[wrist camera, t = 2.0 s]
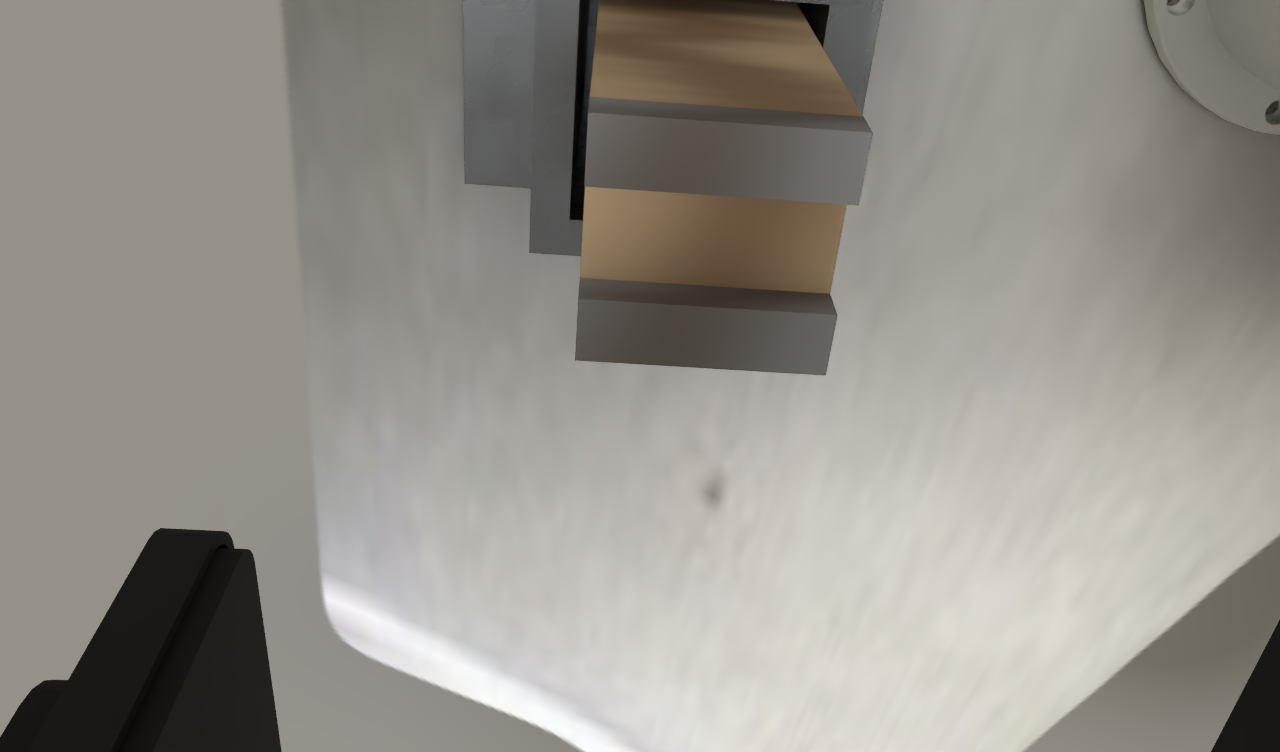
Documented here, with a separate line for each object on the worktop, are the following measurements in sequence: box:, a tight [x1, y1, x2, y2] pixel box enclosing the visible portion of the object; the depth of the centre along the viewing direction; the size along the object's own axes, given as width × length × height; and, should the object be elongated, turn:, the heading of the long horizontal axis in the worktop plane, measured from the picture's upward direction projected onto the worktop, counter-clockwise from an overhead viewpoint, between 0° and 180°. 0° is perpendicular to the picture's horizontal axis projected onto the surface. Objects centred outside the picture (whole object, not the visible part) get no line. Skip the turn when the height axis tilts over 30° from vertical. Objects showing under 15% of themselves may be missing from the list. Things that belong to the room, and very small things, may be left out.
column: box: [575, 0, 873, 375], centre depth 26 cm, size 4×4×18 cm
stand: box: [463, 0, 883, 256], centre depth 29 cm, size 13×13×13 cm
